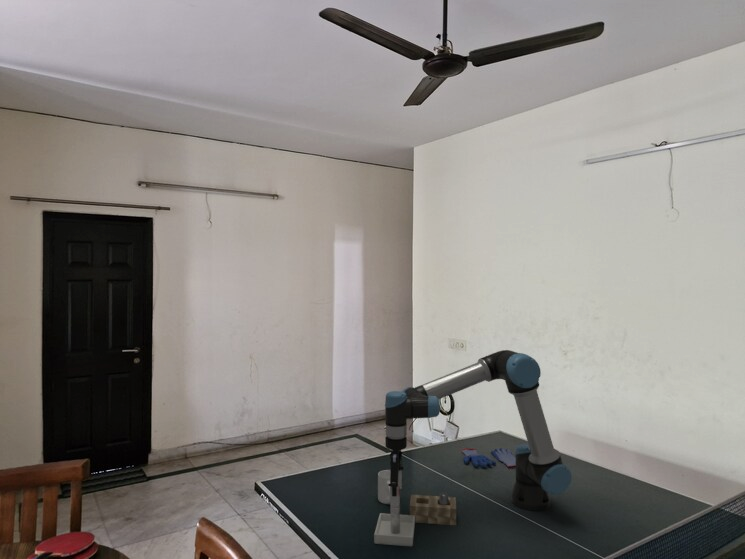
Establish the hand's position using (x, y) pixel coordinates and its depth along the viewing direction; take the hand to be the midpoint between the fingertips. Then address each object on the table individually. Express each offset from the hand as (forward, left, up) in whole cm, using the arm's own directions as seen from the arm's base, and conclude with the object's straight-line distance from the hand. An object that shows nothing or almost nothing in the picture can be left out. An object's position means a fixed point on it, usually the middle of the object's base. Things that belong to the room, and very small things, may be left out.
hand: (396, 496), depth 175 cm
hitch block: (-13, -14, -13) cm, 23 cm away
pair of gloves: (-42, -81, -14) cm, 92 cm away
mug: (+5, -25, -13) cm, 29 cm away
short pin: (-17, -14, -13) cm, 25 cm away
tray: (0, 0, -13) cm, 13 cm away
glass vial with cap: (0, 0, -12) cm, 12 cm away
